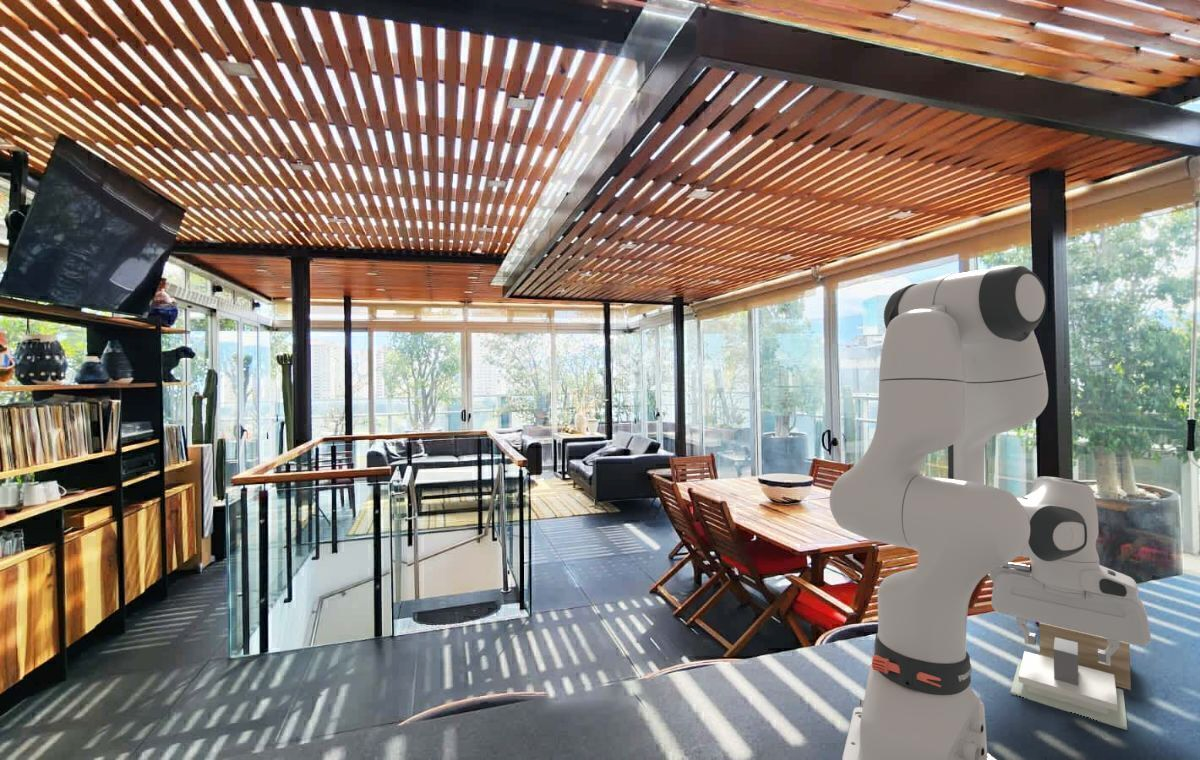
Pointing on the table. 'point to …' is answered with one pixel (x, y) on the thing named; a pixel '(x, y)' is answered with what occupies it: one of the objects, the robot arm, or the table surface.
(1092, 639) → the box
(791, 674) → the table surface
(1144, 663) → the table surface
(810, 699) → the table surface
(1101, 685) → the lid
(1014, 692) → the mat
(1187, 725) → the table surface
